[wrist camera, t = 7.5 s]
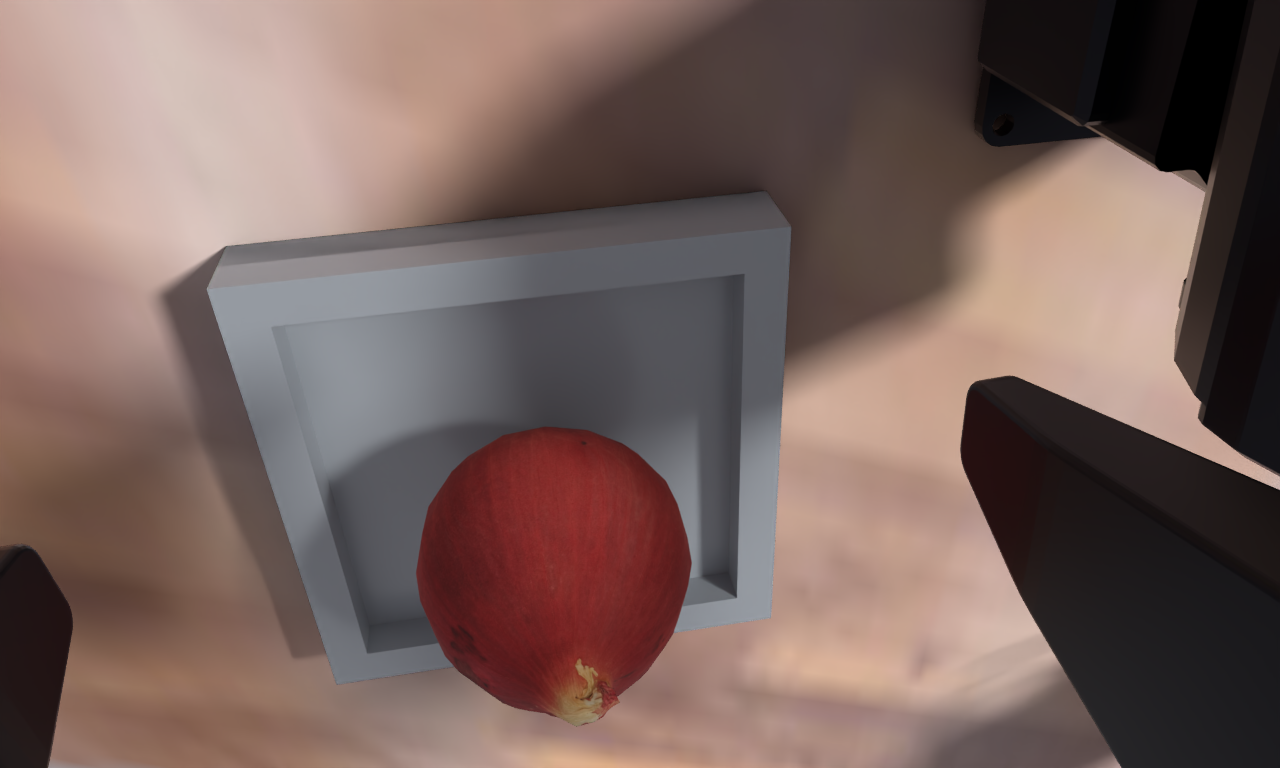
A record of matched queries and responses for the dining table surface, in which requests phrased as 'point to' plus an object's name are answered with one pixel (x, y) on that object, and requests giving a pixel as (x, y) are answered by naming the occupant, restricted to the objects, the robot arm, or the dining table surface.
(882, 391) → the dining table surface
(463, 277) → the dish
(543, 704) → the onion
